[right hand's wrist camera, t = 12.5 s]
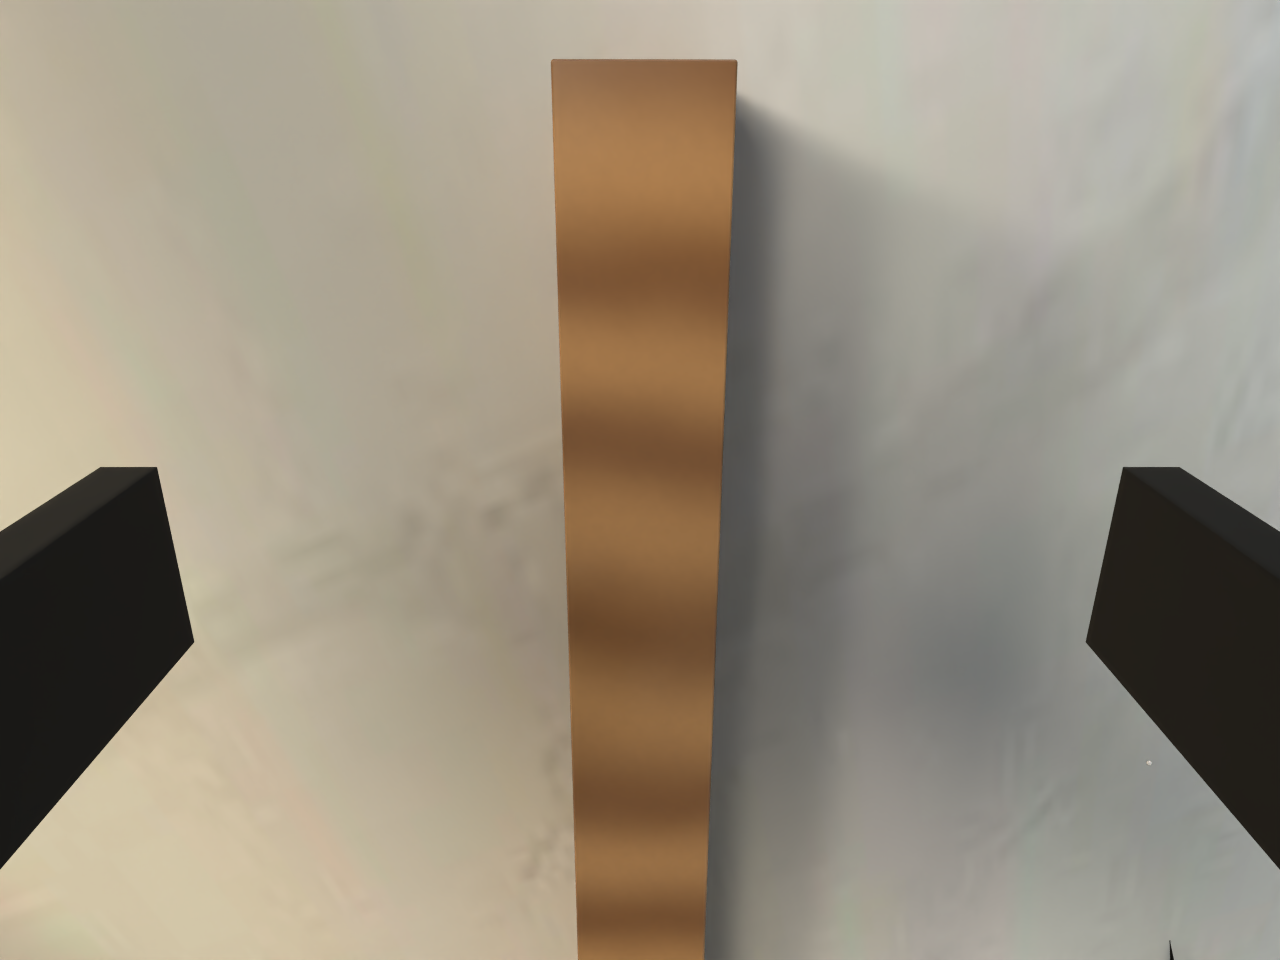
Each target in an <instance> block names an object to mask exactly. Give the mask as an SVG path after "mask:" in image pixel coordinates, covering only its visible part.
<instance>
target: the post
mask: <svg viewBox="0 0 1280 960" xmlns="http://www.w3.org/2000/svg"><path fill="white" fill-rule="evenodd" d="M551 81H552V114H553V147H554V180H555V213H556V246H557V279H558V312H559V345H560V378H561V411H562V444H563V477H564V510H565V543H566V576H567V610H568V643H569V676H570V709H571V742H572V775H573V808H574V841H575V874H576V907H577V940H578V960H704V950H705V923H706V896H707V870H708V843H709V816H710V789H711V762H712V735H713V708H714V681H715V654H716V627H717V600H718V573H719V546H720V519H721V492H722V466H723V439H724V412H725V385H726V358H727V331H728V304H729V277H730V250H731V223H732V196H733V169H734V142H735V115H736V89H737V60H680V59H553V60H552V61H551Z"/></svg>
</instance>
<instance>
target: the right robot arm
mask: <svg viewBox="0 0 1280 960" xmlns="http://www.w3.org/2000/svg"><path fill="white" fill-rule="evenodd" d="M193 643H194V638H193V634H192V629H191V624H190V620H189V615H188V610H187V606H186V601H185V596H184V592H183V587H182V582H181V578H180V573H179V568H178V563H177V559H176V554H175V549H174V545H173V540H172V535H171V531H170V526H169V521H168V517H167V512H166V507H165V503H164V498H163V493H162V489H161V484H160V479H159V475H158V470H157V467H100V468H99V469H97V470H95V471H94V472H92V473H91V474H89V475H88V476H86V477H85V478H83V479H81V480H80V481H78V482H77V483H75V484H74V485H72V486H71V487H69V488H67V489H66V490H64V491H63V492H61V493H60V494H58V495H57V496H55V497H53V498H52V499H50V500H49V501H47V502H46V503H44V504H43V505H41V506H39V507H38V508H36V509H35V510H33V511H32V512H30V513H29V514H27V515H26V516H24V517H22V518H21V519H19V520H18V521H16V522H15V523H13V524H12V525H10V526H8V527H7V528H5V529H4V530H2V531H1V532H0V869H1V868H2V867H3V866H4V864H5V863H6V862H7V861H8V860H9V858H10V857H11V856H12V855H13V854H14V853H15V851H16V850H17V849H18V848H19V847H20V846H21V844H22V843H23V842H24V841H25V840H26V839H27V837H28V836H29V835H30V834H31V833H32V832H33V830H34V829H35V828H36V827H37V826H38V825H39V823H40V822H41V821H42V820H43V819H44V817H45V816H46V815H47V814H48V813H49V812H50V810H51V809H52V808H53V807H54V806H55V805H56V803H57V802H58V801H59V800H60V799H61V798H62V796H63V795H64V794H65V793H66V792H67V791H68V789H69V788H70V787H71V786H72V785H73V784H74V782H75V781H76V780H77V779H78V778H79V776H80V775H81V774H82V773H83V772H84V771H85V769H86V768H87V767H88V766H89V765H90V764H91V762H92V761H93V760H94V759H95V758H96V757H97V755H98V754H99V753H100V752H101V751H102V750H103V748H104V747H105V746H106V745H107V744H108V743H109V741H110V740H111V739H112V738H113V737H114V735H115V734H116V733H117V732H118V731H119V730H120V728H121V727H122V726H123V725H124V724H125V723H126V721H127V720H128V719H129V718H130V717H131V716H132V714H133V713H134V712H135V711H136V710H137V709H138V707H139V706H140V705H141V704H142V703H143V702H144V700H145V699H146V698H147V697H148V696H149V694H150V693H151V692H152V691H153V690H154V689H155V687H156V686H157V685H158V684H159V683H160V682H161V680H162V679H163V678H164V677H165V676H166V675H167V673H168V672H169V671H170V670H171V669H172V668H173V666H174V665H175V664H176V663H177V662H178V661H179V659H180V658H181V657H182V656H183V655H184V653H185V652H186V651H187V650H188V649H189V648H190V646H191V645H192V644H193ZM1086 643H1087V644H1088V645H1089V646H1090V648H1091V649H1092V650H1093V651H1094V652H1095V653H1096V655H1097V656H1098V657H1099V658H1100V659H1101V661H1102V662H1103V663H1104V664H1105V665H1106V666H1107V668H1108V669H1109V670H1110V671H1111V672H1112V673H1113V675H1114V676H1115V677H1116V678H1117V679H1118V680H1119V682H1120V683H1121V684H1122V685H1123V686H1124V687H1125V689H1126V690H1127V691H1128V692H1129V693H1130V694H1131V696H1132V697H1133V698H1134V699H1135V700H1136V702H1137V703H1138V704H1139V705H1140V706H1141V707H1142V709H1143V710H1144V711H1145V712H1146V713H1147V714H1148V716H1149V717H1150V718H1151V719H1152V720H1153V721H1154V723H1155V724H1156V725H1157V726H1158V727H1159V728H1160V730H1161V731H1162V732H1163V733H1164V734H1165V735H1166V737H1167V738H1168V739H1169V740H1170V741H1171V743H1172V744H1173V745H1174V746H1175V747H1176V748H1177V750H1178V751H1179V752H1180V753H1181V754H1182V755H1183V757H1184V758H1185V759H1186V760H1187V761H1188V762H1189V764H1190V765H1191V766H1192V767H1193V768H1194V769H1195V771H1196V772H1197V773H1198V774H1199V775H1200V776H1201V778H1202V779H1203V780H1204V781H1205V782H1206V784H1207V785H1208V786H1209V787H1210V788H1211V789H1212V791H1213V792H1214V793H1215V794H1216V795H1217V796H1218V798H1219V799H1220V800H1221V801H1222V802H1223V803H1224V805H1225V806H1226V807H1227V808H1228V809H1229V810H1230V812H1231V813H1232V814H1233V815H1234V816H1235V817H1236V819H1237V820H1238V821H1239V822H1240V823H1241V825H1242V826H1243V827H1244V828H1245V829H1246V830H1247V832H1248V833H1249V834H1250V835H1251V836H1252V837H1253V839H1254V840H1255V841H1256V842H1257V843H1258V844H1259V846H1260V847H1261V848H1262V849H1263V850H1264V851H1265V853H1266V854H1267V855H1268V856H1269V857H1270V858H1271V860H1272V861H1273V862H1274V863H1275V864H1276V866H1277V867H1278V868H1279V869H1280V532H1279V531H1278V530H1276V529H1275V528H1273V527H1272V526H1270V525H1268V524H1267V523H1265V522H1264V521H1262V520H1261V519H1259V518H1258V517H1256V516H1254V515H1253V514H1251V513H1250V512H1248V511H1247V510H1245V509H1244V508H1242V507H1241V506H1239V505H1237V504H1236V503H1234V502H1233V501H1231V500H1230V499H1228V498H1227V497H1225V496H1223V495H1222V494H1220V493H1219V492H1217V491H1216V490H1214V489H1213V488H1211V487H1209V486H1208V485H1206V484H1205V483H1203V482H1202V481H1200V480H1199V479H1197V478H1195V477H1194V476H1192V475H1191V474H1189V473H1188V472H1186V471H1185V470H1183V469H1181V468H1180V467H1123V470H1122V475H1121V479H1120V484H1119V489H1118V493H1117V498H1116V503H1115V507H1114V512H1113V517H1112V521H1111V526H1110V531H1109V535H1108V540H1107V545H1106V549H1105V554H1104V559H1103V563H1102V568H1101V573H1100V578H1099V582H1098V587H1097V592H1096V596H1095V601H1094V606H1093V610H1092V615H1091V620H1090V624H1089V629H1088V634H1087V638H1086Z"/></svg>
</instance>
